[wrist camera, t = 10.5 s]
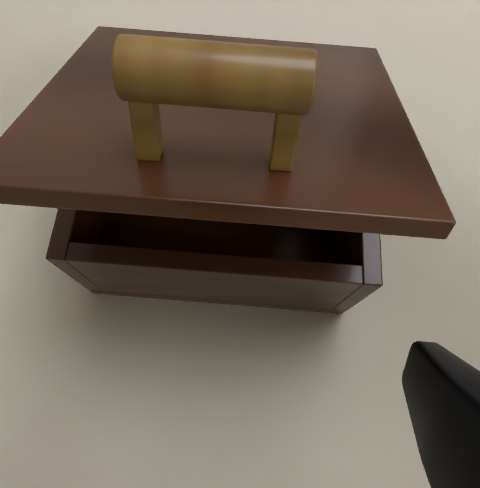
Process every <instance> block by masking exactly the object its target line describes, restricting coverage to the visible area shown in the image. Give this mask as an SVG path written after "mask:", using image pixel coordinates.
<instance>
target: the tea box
mask: <svg viewBox="0 0 480 488" xmlns="http://www.w3.org/2000/svg"><path fill="white" fill-rule="evenodd" d="M46 259H47V260H48V261H50V262H51V263H52V264H54V265H55V266H57V267H58V268H59V269H61V270H62V271H63V272H65V273H66V274H67V275H69V276H70V277H72V278H73V279H74V280H76V281H77V282H78V283H80V284H81V285H82V286H84V287H85V288H87V289H88V290H90V291H91V292H92V293H96V294H108V295H121V296H133V297H146V298H158V299H170V300H183V301H195V302H208V303H220V304H232V305H245V306H257V307H270V308H282V309H294V310H307V311H319V312H331V313H344V312H345V311H346V310H348V309H350V308H351V307H353V306H354V305H355V304H357V303H358V302H360V301H361V300H363V299H364V298H365V297H367V296H368V295H370V294H371V293H373V292H374V291H376V290H377V289H378V288H380V287H381V286H382V285H383V282H382V262H381V243H380V234H373V233H360V232H348V231H335V230H323V229H311V228H298V227H286V226H273V225H261V224H248V223H236V222H223V221H211V220H198V219H186V218H174V217H161V216H149V215H136V214H124V213H111V212H99V211H86V210H74V209H62V208H58V212H57V216H56V220H55V224H54V228H53V231H52V235H51V239H50V243H49V247H48V251H47V255H46Z"/></svg>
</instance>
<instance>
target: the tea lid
mask: <svg viewBox="0 0 480 488" xmlns="http://www.w3.org/2000/svg"><path fill="white" fill-rule="evenodd" d="M0 204H12V205H24V206H37V207H49V208H62V209H74V210H86V211H99V212H111V213H124V214H136V215H149V216H161V217H174V218H186V219H198V220H211V221H223V222H236V223H248V224H261V225H273V226H286V227H298V228H311V229H323V230H335V231H348V232H360V233H373V234H385V235H398V236H410V237H423V238H435V239H446V238H447V237H448V235H449V233H450V232H451V230H452V228H453V227H454V225H455V223H456V221H455V219H454V217H453V214H452V212H451V210H450V208H449V206H448V204H447V201H446V199H445V197H444V195H443V193H442V191H441V188H440V186H439V184H438V182H437V180H436V178H435V175H434V173H433V171H432V169H431V167H430V164H429V162H428V160H427V158H426V156H425V154H424V151H423V149H422V147H421V145H420V143H419V141H418V138H417V136H416V134H415V132H414V130H413V128H412V125H411V123H410V121H409V119H408V117H407V114H406V112H405V110H404V108H403V106H402V104H401V101H400V99H399V97H398V95H397V93H396V91H395V88H394V86H393V84H392V82H391V80H390V78H389V75H388V73H387V71H386V69H385V67H384V65H383V62H382V60H381V58H380V56H379V54H378V51H377V49H376V48H365V47H352V46H340V45H327V44H314V43H302V42H289V41H277V40H264V39H251V38H239V37H226V36H214V35H201V34H189V33H176V32H163V31H151V30H138V29H126V28H113V27H101V26H99V27H97V28H96V30H95V31H94V32H93V33H92V34H91V35H90V36H89V37H88V39H87V40H86V41H85V42H84V43H83V44H82V45H81V47H80V48H79V49H78V50H77V51H76V52H75V53H74V54H73V56H72V57H71V58H70V59H69V60H68V61H67V62H66V64H65V65H64V66H63V67H62V68H61V69H60V70H59V71H58V73H57V74H56V75H55V76H54V77H53V78H52V79H51V81H50V82H49V83H48V84H47V85H46V86H45V87H44V88H43V90H42V91H41V92H40V93H39V94H38V95H37V96H36V98H35V99H34V100H33V101H32V102H31V103H30V104H29V105H28V107H27V108H26V109H25V110H24V111H23V112H22V113H21V114H20V116H19V117H18V118H17V119H16V120H15V121H14V122H13V124H12V125H11V126H10V127H9V128H8V129H7V130H6V131H5V133H4V134H3V135H2V136H1V137H0Z"/></svg>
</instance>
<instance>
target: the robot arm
mask: <svg viewBox="0 0 480 488" xmlns="http://www.w3.org/2000/svg"><path fill="white" fill-rule="evenodd" d="M402 385H403V389H404V393H405V397H406V401H407V405H408V409H409V413H410V417H411V421H412V425H413V429H414V433H415V437H416V441H417V445H418V449H419V453H420V456H421V460H422V463H423V466H424V469H425V472H426V475H427V478H428V481H429V483H430V486H431V488H480V371H479V370H477V369H475V368H474V367H472V366H471V365H469V364H468V363H466V362H465V361H463V360H462V359H460V358H459V357H457V356H456V355H454V354H453V353H451V352H450V351H448V350H447V349H445V348H444V347H442V346H441V345H439V344H437V343H434V342H423V341H416V342H414V343H413V344H412V346H411V348H410V351H409V355H408V358H407V361H406V364H405V368H404V371H403V375H402Z"/></svg>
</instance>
